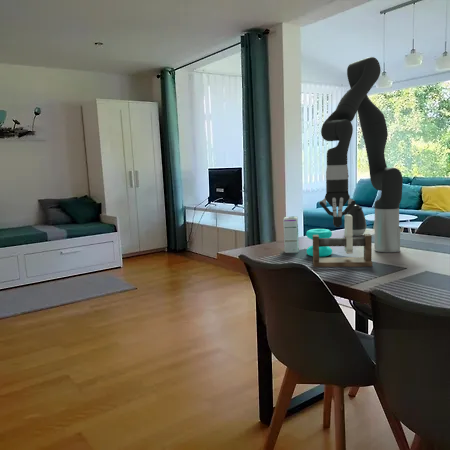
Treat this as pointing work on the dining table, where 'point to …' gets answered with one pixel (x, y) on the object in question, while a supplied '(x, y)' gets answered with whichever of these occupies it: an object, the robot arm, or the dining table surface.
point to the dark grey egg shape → (357, 220)
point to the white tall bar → (348, 234)
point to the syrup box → (291, 234)
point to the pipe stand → (342, 260)
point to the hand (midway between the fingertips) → (337, 226)
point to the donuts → (322, 234)
